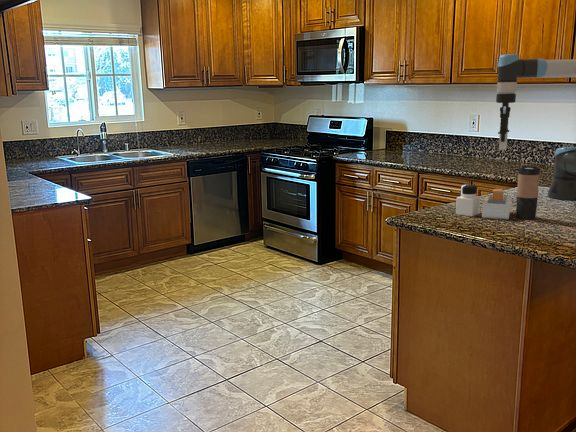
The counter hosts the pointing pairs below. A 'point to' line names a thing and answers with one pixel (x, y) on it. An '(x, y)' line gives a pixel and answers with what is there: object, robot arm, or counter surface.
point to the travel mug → (527, 192)
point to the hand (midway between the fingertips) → (502, 148)
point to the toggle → (498, 194)
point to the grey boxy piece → (496, 208)
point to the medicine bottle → (468, 201)
